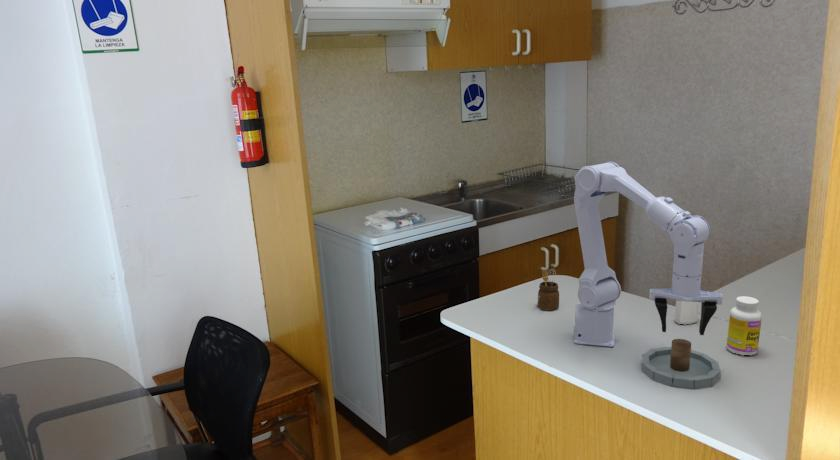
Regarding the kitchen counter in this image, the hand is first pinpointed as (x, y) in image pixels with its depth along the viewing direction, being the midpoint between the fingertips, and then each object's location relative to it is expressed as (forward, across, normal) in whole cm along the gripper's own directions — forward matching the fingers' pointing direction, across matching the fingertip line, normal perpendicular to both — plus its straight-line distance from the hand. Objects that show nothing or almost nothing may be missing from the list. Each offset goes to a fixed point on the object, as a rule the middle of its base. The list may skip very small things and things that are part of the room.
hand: (682, 331), depth 140 cm
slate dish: (+9, 0, 0) cm, 9 cm away
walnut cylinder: (+9, 0, 0) cm, 9 cm away
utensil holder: (+10, -32, +32) cm, 46 cm away
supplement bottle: (+10, +15, +14) cm, 23 cm away
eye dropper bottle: (+10, +4, +29) cm, 31 cm away
